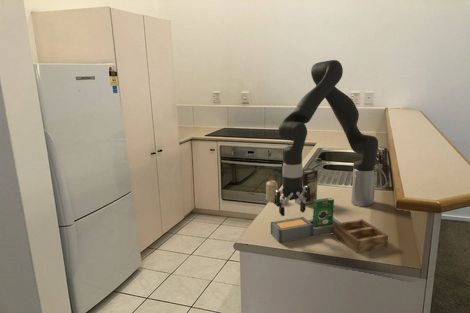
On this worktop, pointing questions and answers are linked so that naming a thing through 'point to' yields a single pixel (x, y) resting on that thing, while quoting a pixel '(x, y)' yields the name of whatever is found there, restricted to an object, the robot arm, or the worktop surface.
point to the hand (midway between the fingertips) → (292, 213)
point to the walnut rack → (360, 235)
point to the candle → (271, 190)
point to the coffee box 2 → (323, 212)
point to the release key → (291, 224)
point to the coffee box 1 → (309, 184)
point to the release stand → (300, 230)
